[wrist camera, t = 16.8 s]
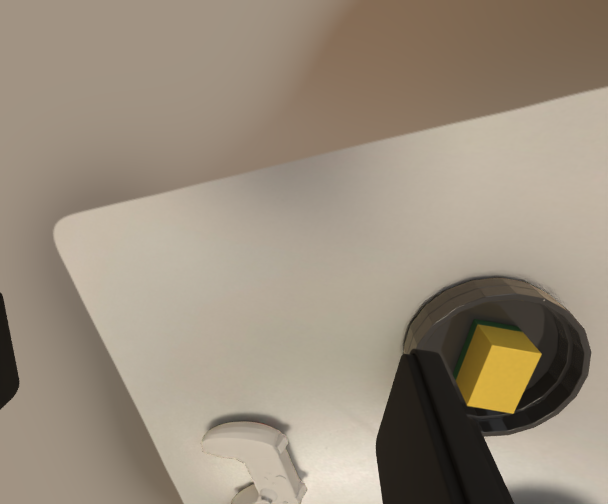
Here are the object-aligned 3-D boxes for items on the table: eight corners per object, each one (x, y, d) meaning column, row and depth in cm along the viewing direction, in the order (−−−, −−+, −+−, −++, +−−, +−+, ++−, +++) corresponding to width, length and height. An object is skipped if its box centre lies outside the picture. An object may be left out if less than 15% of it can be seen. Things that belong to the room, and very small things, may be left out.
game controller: (189, 442, 42) (267, 443, 39) (208, 411, 46) (281, 410, 42) (234, 526, 47) (307, 534, 43) (248, 492, 51) (316, 497, 47)
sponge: (473, 318, 37) (492, 345, 33) (518, 326, 37) (542, 353, 33) (452, 374, 40) (466, 405, 36) (493, 382, 40) (513, 414, 36)
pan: (427, 262, 36) (438, 279, 32) (592, 291, 36) (623, 312, 32) (386, 393, 42) (392, 420, 38) (528, 418, 42) (548, 448, 38)
